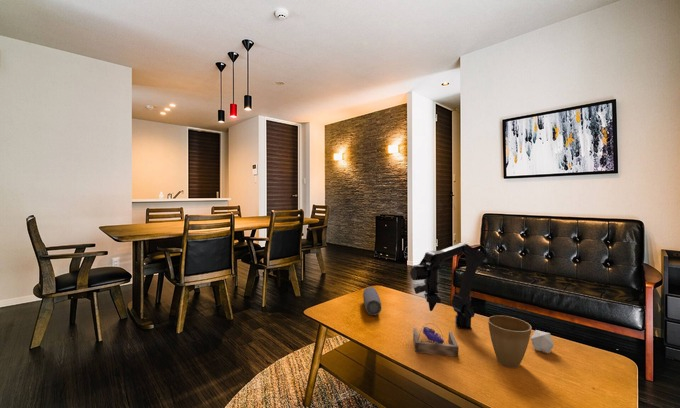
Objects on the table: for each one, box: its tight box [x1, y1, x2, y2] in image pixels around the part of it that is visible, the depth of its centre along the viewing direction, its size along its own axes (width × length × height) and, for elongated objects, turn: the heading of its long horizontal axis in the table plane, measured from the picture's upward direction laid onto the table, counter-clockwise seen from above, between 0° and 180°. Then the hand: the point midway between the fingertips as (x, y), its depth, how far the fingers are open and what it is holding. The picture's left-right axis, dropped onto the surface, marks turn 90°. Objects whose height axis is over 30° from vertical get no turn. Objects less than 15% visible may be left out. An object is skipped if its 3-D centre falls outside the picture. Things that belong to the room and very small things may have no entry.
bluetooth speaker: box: [362, 286, 382, 316], centre depth 168 cm, size 23×9×10 cm, turn 179°
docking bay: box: [412, 328, 459, 358], centre depth 127 cm, size 17×14×4 cm
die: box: [530, 329, 555, 354], centre depth 125 cm, size 8×9×10 cm
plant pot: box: [487, 315, 533, 369], centre depth 116 cm, size 15×15×16 cm
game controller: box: [418, 323, 445, 344], centre depth 130 cm, size 11×9×11 cm
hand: (430, 310), depth 141 cm, fingers closed
